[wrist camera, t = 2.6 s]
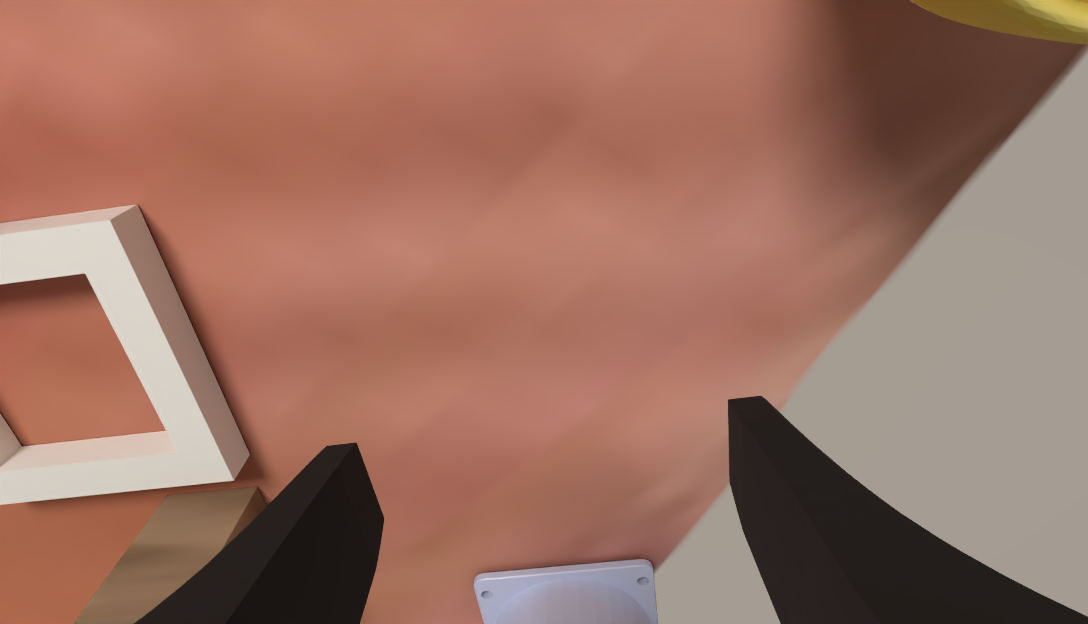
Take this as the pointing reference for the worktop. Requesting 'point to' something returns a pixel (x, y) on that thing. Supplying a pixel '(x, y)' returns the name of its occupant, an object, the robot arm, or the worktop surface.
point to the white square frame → (154, 350)
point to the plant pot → (1019, 17)
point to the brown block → (171, 551)
